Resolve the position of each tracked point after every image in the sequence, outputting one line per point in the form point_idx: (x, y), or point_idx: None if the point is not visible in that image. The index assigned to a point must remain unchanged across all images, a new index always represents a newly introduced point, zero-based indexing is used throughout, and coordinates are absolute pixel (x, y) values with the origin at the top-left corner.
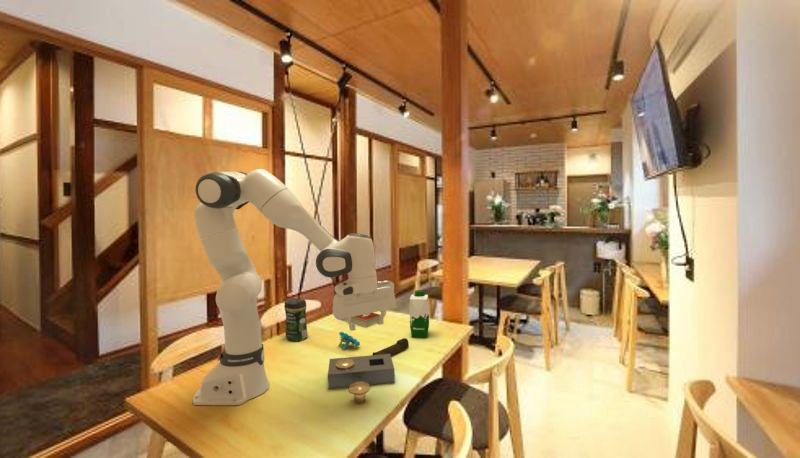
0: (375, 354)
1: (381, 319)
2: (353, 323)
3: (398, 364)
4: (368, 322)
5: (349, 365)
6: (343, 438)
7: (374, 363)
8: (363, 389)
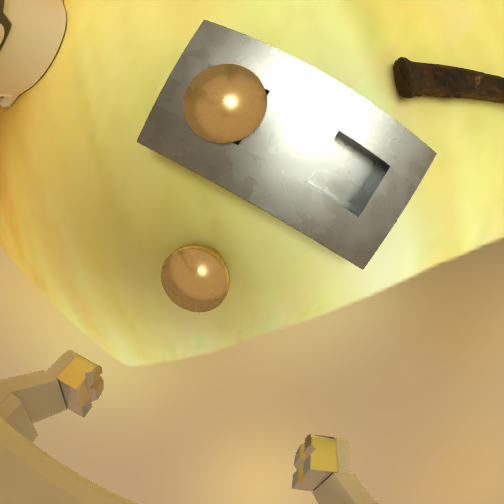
0: (406, 76)
1: (313, 487)
2: (75, 391)
3: (441, 159)
4: None
5: (225, 140)
6: (126, 342)
7: (354, 143)
8: (196, 303)
